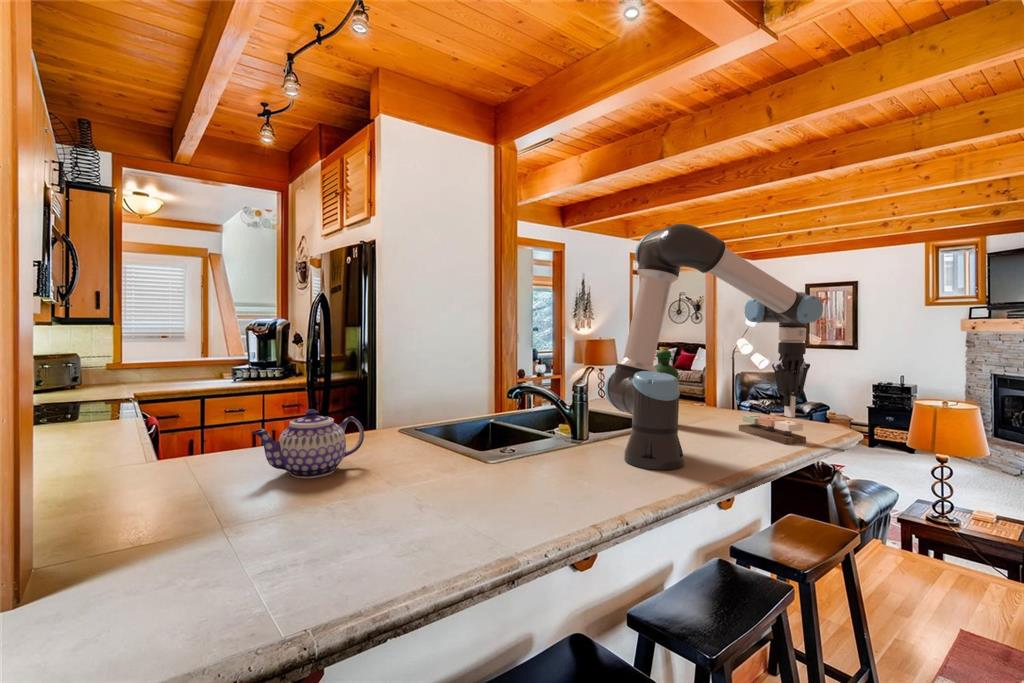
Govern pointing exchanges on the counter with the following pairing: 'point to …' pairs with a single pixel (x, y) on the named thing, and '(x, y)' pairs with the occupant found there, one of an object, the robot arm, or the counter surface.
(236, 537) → the counter surface
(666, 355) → the bottle
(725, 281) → the robot arm
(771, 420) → the terracotta tile
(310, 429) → the teapot
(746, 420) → the sage tile
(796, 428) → the cream tile
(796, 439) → the button board
